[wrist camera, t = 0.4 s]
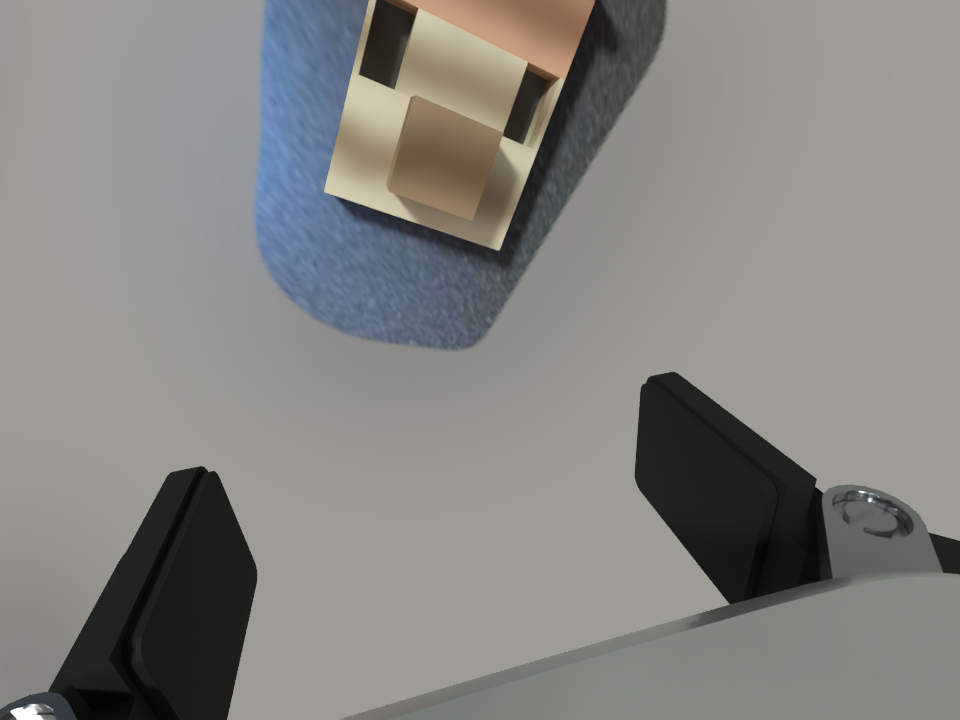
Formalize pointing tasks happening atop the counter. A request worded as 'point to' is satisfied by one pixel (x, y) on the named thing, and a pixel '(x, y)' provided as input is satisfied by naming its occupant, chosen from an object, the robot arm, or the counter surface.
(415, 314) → the counter surface
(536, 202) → the counter surface
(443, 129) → the block
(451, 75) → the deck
